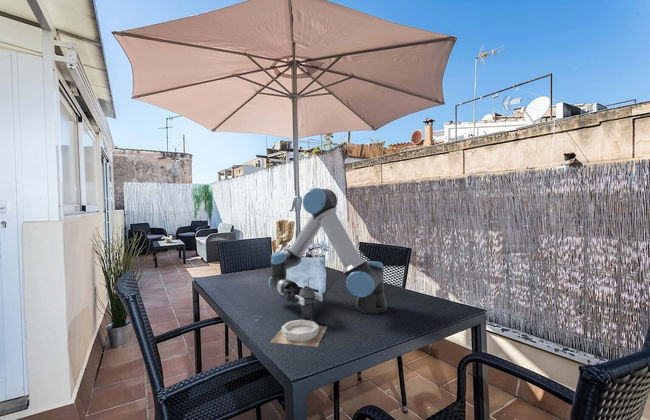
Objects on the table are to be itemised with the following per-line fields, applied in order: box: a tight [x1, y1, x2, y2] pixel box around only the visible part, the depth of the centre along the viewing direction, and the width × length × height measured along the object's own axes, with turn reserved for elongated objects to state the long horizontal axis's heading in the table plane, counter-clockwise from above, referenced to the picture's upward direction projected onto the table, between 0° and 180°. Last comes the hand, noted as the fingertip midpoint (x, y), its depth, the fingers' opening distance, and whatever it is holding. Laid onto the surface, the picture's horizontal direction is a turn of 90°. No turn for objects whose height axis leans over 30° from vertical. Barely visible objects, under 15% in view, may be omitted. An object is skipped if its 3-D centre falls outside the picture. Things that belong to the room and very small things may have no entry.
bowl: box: [281, 319, 320, 342], centre depth 121 cm, size 14×14×3 cm
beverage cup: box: [298, 276, 316, 321], centre depth 134 cm, size 7×7×20 cm
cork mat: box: [269, 325, 328, 348], centre depth 121 cm, size 18×18×1 cm
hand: (312, 300), depth 130 cm, fingers open, 8 cm apart
